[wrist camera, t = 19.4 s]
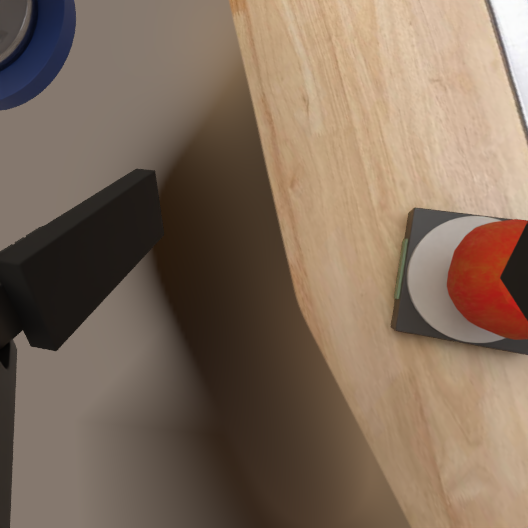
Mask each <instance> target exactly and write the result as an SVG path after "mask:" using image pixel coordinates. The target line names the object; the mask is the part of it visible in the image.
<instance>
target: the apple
mask: <svg viewBox="0 0 528 528" xmlns="http://www.w3.org/2000/svg"><path fill="white" fill-rule="evenodd" d="M527 222H528V221H526V220H518V219H514V220H506V221H497V222H492V223H487V224H484V225H481V226H478V227H476V228H474V229H473V230H472V231H470V232H469V233H468V234H467V235H466V236H465V237H464V238H463V239H462V241H461V242H460V244H459V245H458V246H457V248H456V249H455V250H454V253H453V257H452V260H451V264H450V267H449V271H448V278H447V289H448V293H449V296H450V298H451V300H452V301H453V303H454V305H455V307H456V308H457V310H458V311H459V312H460V313H461V314H462V315H463V316H464V317H465V318H466V319H467V320H468V321H469V322H470V323H472V324H474V325H476V326H477V327H480V328H482V329H485V330H487V331H489V332H492V333H494V334H497V335H499V336H502V337H505V338H510V339H514V340H521V339H528V321H527V319H526V318H525V316H524V315H523V313H522V312H521V310H520V309H519V307H518V305H517V304H516V302H515V301H514V299H513V298H512V296H511V295H510V293H509V291H508V290H507V288H506V287H505V285H504V284H503V282H502V281H501V279H500V276H501V274H502V272H503V270H504V268H505V266H506V264H507V262H508V260H509V258H510V256H511V254H512V252H513V250H514V248H515V246H516V244H517V242H518V240H519V238H520V236H521V234H522V232H523V230H524V228H525V226H526V224H527Z"/></svg>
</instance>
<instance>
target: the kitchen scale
mask: <svg viewBox="0 0 528 528" xmlns="http://www.w3.org/2000/svg"><path fill="white" fill-rule="evenodd" d="M506 220H513V219H505V218H497V217H489V216H480V215H472V214H464V213H456V212H447V211H439V210H431V209H423V208H414V209H413V210H411V211H410V212H409V214H408V220H407V226H406V233H405V239H404V240H403V243H402V249H401V256H400V262H399V269H398V275H397V281H396V288H395V294H394V298H395V303H394V310H393V316H392V322H391V328H393V329H394V330H396V331H401V332H406V333H412V334H417V335H423V336H428V337H433V338H439V339H444V340H450V341H455V342H460V343H466V344H471V345H477V346H482V347H488V348H493V349H498V350H504V351H509V352H515V353H520V354H526V355H528V339H521V340H514V339H510V338H505V337H502V336H499V335H497V334H494V333H492V332H489V331H487V330H485V329H482V328H480V327H477V326H476V325H474V324H472V323H470V322H469V321H468V320H467V319H466V318H465V317H464V316H463V315H462V314H461V313H460V312H459V311H458V310H457V308H456V307H455V305H454V303H453V301H452V300H451V298H450V296H449V293H448V289H447V278H448V271H449V267H450V264H451V260H452V257H453V253H454V250H455V249H456V248H457V246H458V245H459V244H460V242H461V241H462V239H463V238H464V237H465V236H466V235H467V234H468V233H469V232H470V231H472V230H473V229H474V228H476V227H478V226H481V225H484V224H487V223H492V222H497V221H506Z"/></svg>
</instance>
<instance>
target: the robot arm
mask: <svg viewBox="0 0 528 528" xmlns="http://www.w3.org/2000/svg"><path fill="white" fill-rule="evenodd" d="M37 19H38V1H37V0H0V71H1V70H3V69H5V68H6V67H8V66H9V65H11V64H12V63H13V62H15V61H16V60H17V59H18V58H19V57H20V56H21V54H22V53H23V52H24V51H25V49H26V48H27V46H28V45H29V43H30V41H31V39H32V37H33V34H34V32H35V29H36V25H37ZM163 236H164V231H163V223H162V217H161V209H160V202H159V195H158V189H157V182H156V174H155V171H153V170H144V169H135V170H133V171H132V172H130V173H129V174H127V175H125V176H124V177H122V178H120V179H119V180H117V181H116V182H114V183H112V184H111V185H109V186H108V187H106V188H104V189H103V190H101V191H100V192H98V193H96V194H95V195H93V196H91V197H90V198H88V199H87V200H85V201H83V202H82V203H80V204H79V205H77V206H75V207H74V208H72V209H71V210H69V211H67V212H66V213H64V214H63V215H61V216H59V217H58V218H56V219H54V220H53V221H51V222H50V223H48V224H47V225H45V226H42V227H39V228H38V229H36V230H34V231H33V232H32V233H30V234H28V235H26V237H25V238H21V239H20V240H18V241H17V242H15V244H14V245H10V246H8V247H7V248H5V249H4V250H2V251H0V528H10V511H11V485H12V462H13V436H14V413H15V387H16V362H17V349H16V345H15V343H14V341H13V338H14V337H16V336H17V334H19V333H20V332H21V331H22V330H23V331H24V333H25V335H26V337H27V339H28V341H29V344H30V346H32V347H37V348H42V349H48V350H53V351H57V350H58V349H59V348H60V347H61V346H62V344H63V343H64V342H65V341H66V340H67V339H68V338H69V337H70V336H71V335H72V334H73V333H74V331H75V330H76V329H77V328H78V327H79V326H80V325H81V324H82V323H83V322H84V321H85V320H86V318H87V317H88V316H89V315H90V314H91V313H92V312H93V311H94V310H95V309H96V308H97V307H98V306H99V305H100V303H101V302H102V301H103V300H104V299H105V298H106V297H107V296H108V295H109V294H110V293H111V291H112V290H113V289H114V288H115V287H116V286H117V285H118V284H119V283H120V282H121V281H122V280H123V279H124V277H126V275H127V274H128V273H129V272H130V271H131V270H132V269H133V268H134V267H135V266H136V265H137V264H138V262H139V261H140V260H141V259H142V258H143V257H144V256H145V255H146V254H147V253H148V252H149V251H150V250H151V248H152V247H153V246H154V245H155V244H156V243H157V242H158V241H159V240H160V239H161V238H162V237H163ZM500 279H501V281H502V282H503V284H504V285H505V287H506V288H507V290H508V291H509V293H510V295H511V296H512V298H513V299H514V301H515V302H516V304H517V305H518V307H519V309H520V310H521V312H522V313H523V315H524V316H525V318H526V319H527V321H528V222H527V224H526V226H525V228H524V230H523V232H522V234H521V236H520V238H519V240H518V242H517V244H516V246H515V248H514V250H513V252H512V254H511V256H510V258H509V260H508V262H507V264H506V266H505V268H504V270H503V272H502V274H501V276H500Z"/></svg>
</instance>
